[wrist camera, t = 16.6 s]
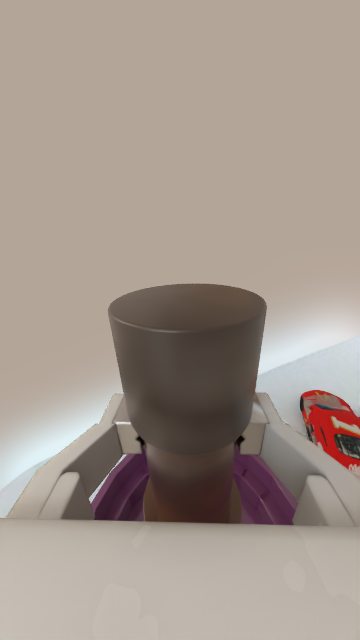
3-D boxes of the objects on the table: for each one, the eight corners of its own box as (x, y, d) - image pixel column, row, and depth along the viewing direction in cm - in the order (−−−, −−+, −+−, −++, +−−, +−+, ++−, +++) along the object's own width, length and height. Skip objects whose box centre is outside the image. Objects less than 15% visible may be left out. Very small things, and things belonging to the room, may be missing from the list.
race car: (295, 396, 28) (301, 374, 27) (340, 406, 26) (349, 383, 25) (318, 500, 17) (329, 472, 15) (400, 531, 15) (422, 503, 13)
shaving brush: (229, 457, 13) (244, 280, 8) (254, 584, 8) (322, 331, 4) (153, 456, 13) (129, 284, 9) (134, 580, 8) (56, 336, 4)
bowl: (262, 456, 21) (267, 426, 19) (424, 917, 7) (504, 966, 5) (125, 455, 21) (118, 427, 20) (5, 868, 7) (-56, 894, 6)
